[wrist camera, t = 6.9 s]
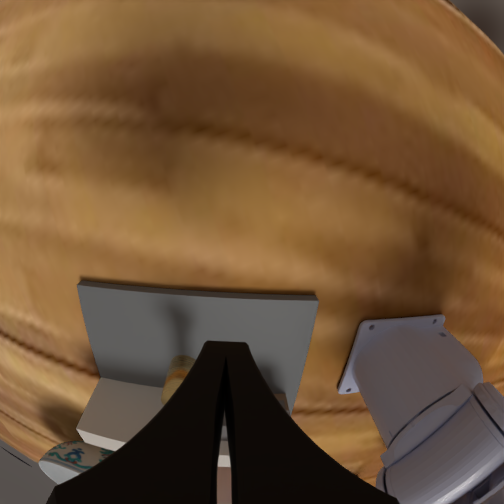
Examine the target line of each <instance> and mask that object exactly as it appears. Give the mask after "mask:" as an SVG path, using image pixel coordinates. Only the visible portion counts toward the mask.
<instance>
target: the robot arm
mask: <svg viewBox="0 0 504 504" xmlns="http://www.w3.org/2000/svg"><path fill="white" fill-rule="evenodd" d="M444 321H445V316H444V315H442V314H440V315H430V316H420V317H408V318H394V319H378V320H365V321H363V322H361V324H360V325H359V328H358V332H357V335H356V338H355V341H354V344H353V347H352V350H351V353H350V356H349V359H348V362H347V365H346V368H345V371H344V373H343V376H342V379H341V382H340V384H339V387H338V393H339V394H348V393H355V392H360V393H361V395H362V397H363V399H364V401H365V403H366V405H367V407H368V409H369V411H370V414H371V416H372V418H373V420H374V422H375V424H376V426H377V428H378V430H379V433H380V435H381V437H382V439H383V441H384V443H385V445H386V448H387V451H385V452H384V453H383V454H382V455H381V456H380V457H381V459H382V462H383V464H384V466H383V467H382V468H381V469H380V471H379V472H378V474H377V478H376V487H374V486H372V485H370V484H369V483H367V482H365V481H363V480H362V479H360V478H359V477H357V476H356V475H354V474H353V473H351V472H350V471H348V470H347V469H346V468H344V467H343V466H342V465H340V464H339V463H338V462H337V461H335V460H334V459H333V458H332V457H330V456H329V455H328V454H327V453H326V452H324V451H323V450H322V449H321V448H320V447H318V446H317V445H316V444H315V443H314V442H313V441H312V440H311V439H310V438H309V437H308V436H307V435H306V434H305V433H304V432H303V431H302V430H301V428H300V427H299V426H298V425H297V424H296V423H295V422H294V421H293V419H292V418H291V417H290V416H289V414H288V413H287V412H286V411H285V409H284V408H283V407H282V405H281V404H280V403H279V401H278V400H277V398H276V397H275V395H274V394H273V392H272V391H271V389H270V388H269V386H268V384H267V383H266V381H265V379H264V378H263V376H262V374H261V372H260V371H259V369H258V367H257V365H256V363H255V361H254V358H253V356H252V354H251V351H250V348H249V345H248V344H247V343H246V342H230V341H211V340H207V341H206V342H205V343H204V345H203V347H202V349H201V352H200V354H199V356H198V357H197V359H196V361H195V363H194V364H193V366H192V368H191V369H190V371H189V372H188V374H187V376H186V377H185V379H184V380H183V382H182V383H181V384H180V386H179V387H178V388H177V390H176V391H175V392H174V394H173V395H172V396H171V398H170V399H169V400H168V401H167V403H166V404H165V405H164V406H163V407H162V409H161V410H160V411H159V412H158V413H157V414H156V415H155V416H154V417H153V418H152V419H151V420H150V421H149V422H148V424H146V425H145V426H144V427H143V428H142V429H141V430H140V431H139V432H138V433H137V434H136V435H135V436H134V437H132V438H131V439H130V440H129V441H128V442H127V443H125V444H124V445H123V446H122V447H120V448H119V449H118V450H116V451H115V452H114V453H112V454H111V455H109V456H108V457H106V458H105V459H104V460H102V461H101V462H99V463H98V464H96V465H95V466H93V467H91V468H90V469H88V470H86V471H85V472H83V473H81V474H79V475H77V476H75V477H73V478H71V479H69V480H67V481H65V482H63V483H61V484H59V485H57V486H55V487H54V489H53V491H52V493H51V495H50V497H49V498H48V501H47V503H46V504H217V470H218V459H219V451H220V443H221V435H222V427H223V419H224V411H225V419H226V429H227V439H228V448H229V457H230V466H231V498H232V504H504V397H503V396H502V395H501V393H500V392H499V391H498V390H497V389H496V388H495V387H494V386H493V385H492V384H491V383H490V382H486V383H483V375H482V370H481V367H480V365H479V363H478V361H477V360H476V358H475V357H474V356H473V355H472V354H471V353H470V352H469V351H468V350H467V349H466V348H465V347H464V346H463V345H462V344H461V343H460V342H459V341H458V340H457V339H456V338H455V337H454V336H453V335H452V334H451V333H450V332H449V331H447V330H446V329H445V328H444V327H443V324H444ZM371 325H372V327H370V326H371ZM369 327H370V328H369Z"/></svg>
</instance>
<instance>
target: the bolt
mask: <svg viewBox="0 0 504 504" xmlns="http://www.w3.org/2000/svg"><path fill="white" fill-rule="evenodd" d="M195 361H196V360H195V359H194V358H192V357H190V356H186V355H178V356H175V357H173V358H172V360H171V362H170V365H169V369H168V373H167V376H166V380H165V384H164V387H163V391H162V395H161V402H162V404H163V405H165V404H166V403H167V401H168V400H169V399H170V398H171V396H172V395H173V394H174V392H175V391H176V390H177V388H178V387H179V386H180V384H181V383H182V382H183V380H184V379H185V377H186V376H187V374H188V372H189V371H190V369H191V368H192V366H193V364H194V363H195ZM286 412H287V413H288V414H289V410H286ZM289 416H290V414H289Z"/></svg>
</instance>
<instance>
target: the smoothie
mask: <svg viewBox="0 0 504 504" xmlns="http://www.w3.org/2000/svg"><path fill="white" fill-rule="evenodd" d="M217 504H232V498H231V467H218V470H217Z"/></svg>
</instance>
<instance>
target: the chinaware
mask: <svg viewBox="0 0 504 504" xmlns="http://www.w3.org/2000/svg"><path fill="white" fill-rule="evenodd" d="M114 452H115V451H113V450H109V449H105V448H102V447H99V446H95V445H92V444H89V443H86V442H84V440H83V441H69V442H65V443H61V444H59V445H57V446H55V447H53V448H52V449H50V450H49V451H48V452H47V453H46V454H45V455H44V456H43V457H42V458H41V459H40V461H39V466H40V468H41V469H42V470H43V471H44V472H45V473H46V475H48V476H49V477H50V478H51V479H52V480H53V481H55V482H56V483H58V484H61V483H63V482H65V481H67V480H69V479H71V478H73V477H75V476H77V475H79V474H81V473H83V472H85V471H86V470H88V469H90V468H91V467H93V466H95V465H96V464H98V463H99V462H101V461H102V460H104V459H105V458H106V457H108V456H109V455H111V454H112V453H114Z"/></svg>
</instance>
